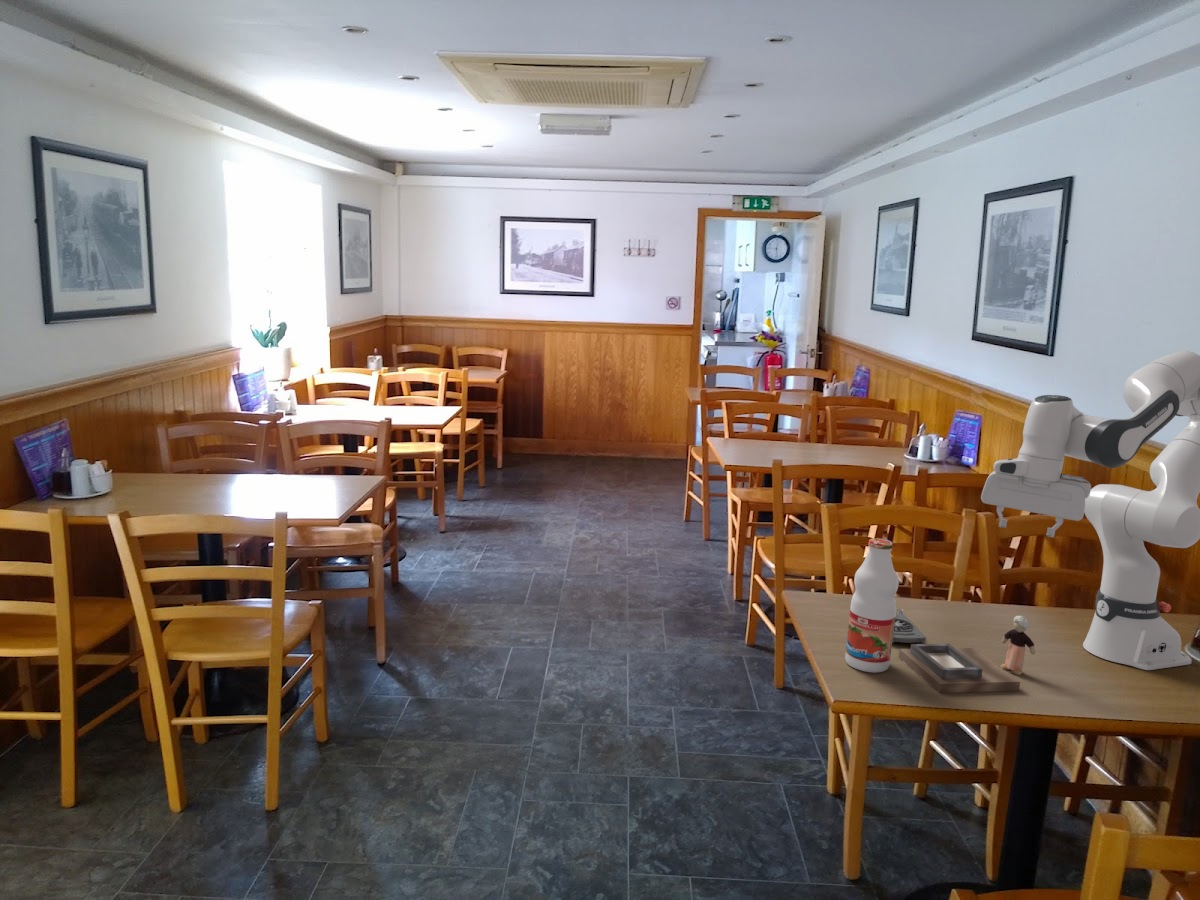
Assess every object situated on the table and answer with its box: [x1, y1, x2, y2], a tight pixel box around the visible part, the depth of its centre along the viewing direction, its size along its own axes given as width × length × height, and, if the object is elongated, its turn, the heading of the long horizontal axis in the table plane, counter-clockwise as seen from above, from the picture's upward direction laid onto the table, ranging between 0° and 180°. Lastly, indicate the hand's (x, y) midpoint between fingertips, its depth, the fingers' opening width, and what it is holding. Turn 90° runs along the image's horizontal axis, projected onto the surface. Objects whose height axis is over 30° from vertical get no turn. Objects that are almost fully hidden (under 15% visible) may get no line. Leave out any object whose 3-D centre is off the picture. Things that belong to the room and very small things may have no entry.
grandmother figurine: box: [999, 615, 1036, 676], centre depth 188 cm, size 8×4×13 cm, turn 43°
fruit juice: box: [844, 537, 899, 674], centre depth 186 cm, size 9×9×28 cm
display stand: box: [898, 643, 1021, 694], centre depth 186 cm, size 18×17×4 cm
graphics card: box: [892, 608, 927, 644], centre depth 207 cm, size 17×4×12 cm
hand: (1025, 531), depth 188 cm, fingers open, 8 cm apart
